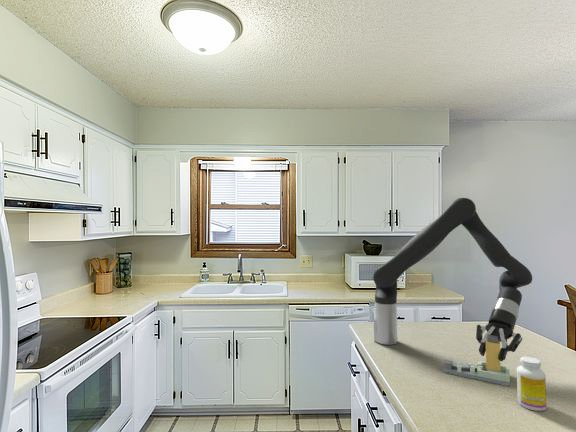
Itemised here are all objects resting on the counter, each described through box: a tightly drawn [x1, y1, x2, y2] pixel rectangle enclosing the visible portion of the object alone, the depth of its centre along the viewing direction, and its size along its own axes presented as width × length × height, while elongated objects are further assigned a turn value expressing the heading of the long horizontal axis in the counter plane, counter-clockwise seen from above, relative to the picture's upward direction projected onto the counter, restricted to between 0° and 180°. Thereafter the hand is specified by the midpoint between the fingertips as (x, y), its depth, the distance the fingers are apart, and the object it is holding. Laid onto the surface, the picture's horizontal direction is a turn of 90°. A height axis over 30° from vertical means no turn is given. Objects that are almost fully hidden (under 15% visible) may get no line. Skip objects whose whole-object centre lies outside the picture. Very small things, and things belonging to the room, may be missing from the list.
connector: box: [485, 335, 502, 372], centre depth 112 cm, size 4×4×10 cm
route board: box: [443, 359, 511, 387], centre depth 114 cm, size 19×9×3 cm, turn 57°
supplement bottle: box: [516, 356, 548, 412], centre depth 94 cm, size 7×7×13 cm
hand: (490, 357), depth 111 cm, fingers closed on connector, 5 cm apart
